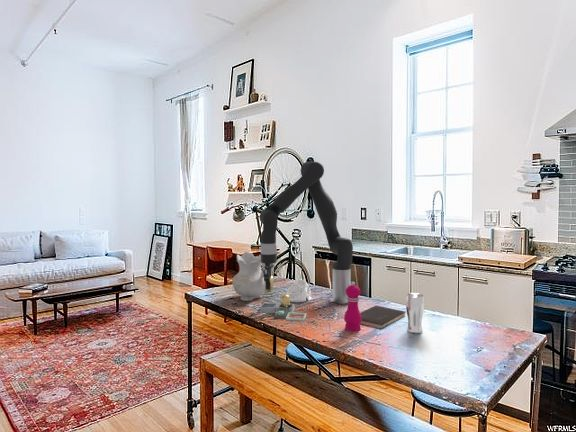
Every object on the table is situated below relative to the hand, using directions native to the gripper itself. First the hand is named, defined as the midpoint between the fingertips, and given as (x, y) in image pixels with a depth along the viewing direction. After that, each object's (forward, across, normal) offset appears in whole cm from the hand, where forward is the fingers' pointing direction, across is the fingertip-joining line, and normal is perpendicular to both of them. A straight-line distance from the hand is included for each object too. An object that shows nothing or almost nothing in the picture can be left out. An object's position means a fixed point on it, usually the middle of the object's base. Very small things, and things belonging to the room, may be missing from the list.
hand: (269, 288), depth 191 cm
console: (+11, -10, -8) cm, 17 cm away
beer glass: (+12, -17, -64) cm, 68 cm away
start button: (+10, -10, -8) cm, 16 cm away
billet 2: (+10, 0, -8) cm, 13 cm away
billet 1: (+1, 0, 0) cm, 1 cm away
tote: (+11, -10, -14) cm, 21 cm away
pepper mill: (+12, -18, -40) cm, 45 cm away
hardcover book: (+12, -2, -51) cm, 52 cm away
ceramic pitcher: (+12, +21, +14) cm, 28 cm away
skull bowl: (+12, +19, -12) cm, 26 cm away
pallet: (+11, 0, -4) cm, 12 cm away
